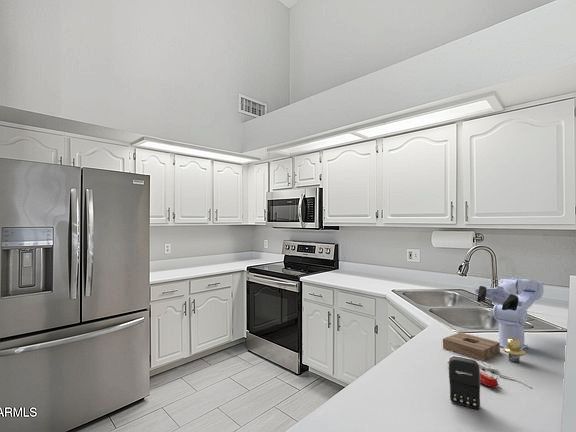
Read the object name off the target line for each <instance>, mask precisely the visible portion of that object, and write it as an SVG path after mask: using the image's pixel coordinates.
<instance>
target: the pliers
mask: <svg viewBox="0 0 576 432" xmlns="http://www.w3.org/2000/svg"><path fill="white" fill-rule="evenodd" d="M477 362H478V361H477ZM478 364H479V367H480V370H484V373H485V374H487V375H489V376H491V377H493V373H494V374H495V375H494V376H495V377H494V378H495V379H496V380H497V376H499V378H502V379H504V380H510V381H514V382H517V383H519V384H521V385H523V386H525V387H527V388H529V389H532V388H533V387H532V386H531V385H530V384H528V383H527V382H525V381H523V380H521V379H519V378H516V377H514V376H512V375H508V374H505V373H502V372H501V371H500V370H498V369H497V368H496V367H493V366H492V365H491V364H488V363H487V362H486V361H482V363H480V362H478ZM495 388H498V389H502V386H500V385H499V386H498V385H497V386H496V387H495Z"/></svg>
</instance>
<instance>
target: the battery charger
mask: <svg viewBox="0 0 576 432" xmlns="http://www.w3.org/2000/svg"><path fill="white" fill-rule="evenodd" d="M448 362H449V363H448V379H449V380H448V381H449V400H450V402H451V403H453V404H455V405H458V406H462V407H466V408H470V409H472V410H473V409H474V410H479V409H480V408H481V382H480V371H481V369H480V367H479V364H478V361H477V360H475V358H472V357H466V356H461V355H451V356H450V357H449V360H448Z"/></svg>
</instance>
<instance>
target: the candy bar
mask: <svg viewBox="0 0 576 432" xmlns="http://www.w3.org/2000/svg"><path fill="white" fill-rule="evenodd" d="M447 364H449V361H447ZM480 384H483V385H485V386H486V387H487V386H488V387H493V388H497V387H496V386H497V385H498V386H500V385H499V383H498V380H497V379H495V377H494V376H492V377H491V376H489V375H487V374H486V372H484V371H481V370H480Z"/></svg>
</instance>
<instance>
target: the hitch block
mask: <svg viewBox="0 0 576 432" xmlns="http://www.w3.org/2000/svg"><path fill="white" fill-rule="evenodd" d="M442 348H443V349H444V350H448V351H451V352H453V353H457V354H460V355H462V356H463V355H464V356H465V357H466V356H467V357H469V358H472V359H477V360H480V361H482V362H486V360H488V359H490V358H492V357H494V356H496V355H498V354H499V353H501V347H500V342H499V341H496V340H492V339H488V338H484V337H480V336H478V335H477V336H476V335H473V334H469V333H465V332H461V331H460V332H458V333H454V334H451V335H449V336H446V337H444V338H442Z"/></svg>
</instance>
